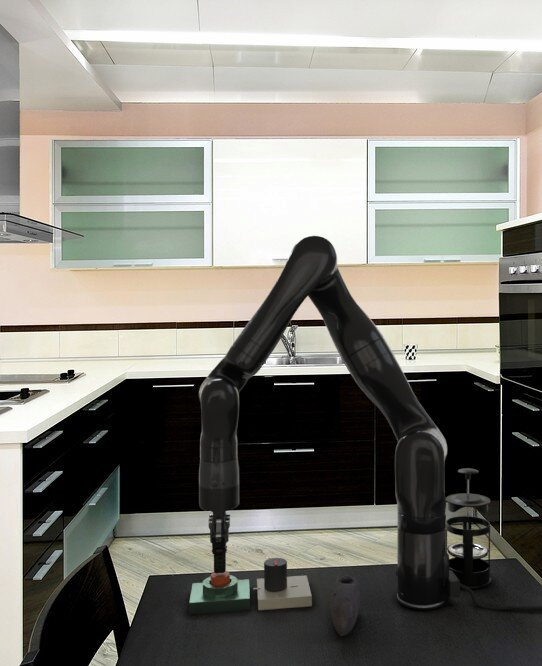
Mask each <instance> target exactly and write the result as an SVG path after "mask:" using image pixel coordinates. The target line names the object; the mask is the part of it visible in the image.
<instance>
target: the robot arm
mask: <svg viewBox="0 0 542 666" xmlns="http://www.w3.org/2000/svg"><path fill="white" fill-rule="evenodd" d="M307 297H308V298H309V300H310V301H311V302H312V304H313V306H314V307H315V308H316V310H317V311H318V313H319V315H320V316H321V318H322V321H323V322H324V325H325V327H326V330H327V331H328V334H329V336H330V338H331V340H332V343H333V345H334V347H335V349H336V351H337V353H338V355H339V356H340V358H341V360H342V361H343V363H344V365H345V367H346V369H347V371H348V372H349V374H350V376H351V377H352V379H353V381H354V382H355V383H356V385H357V386H358V387H359V389H360V390H361V391H362V392H363V393H364V394H365V395H366V397H368V399H369V400H370V401H371V402H372V403H373V404H374V405H375V406H376V407H377V408H378V409H379V411H380V412H381V413H382V414H383V416H384V417H385V419H386V420H387V422H388V425H389V426H390V428H391V430H392V433H393V434H394V436H395V439H396V441H397V445H396V447H395V453H394V484H395V485H394V490H395V492H394V493H395V499H396V506H397V508H396V509H397V510H396V511H397V554H396V555H397V558H396V559H397V561H396V562H397V563H396V564H397V569H396V571H395V577H396V578H397V580H396V581H397V582H396V584H397V585H396V586H397V587H396V592H397V593H396V600H397V602H398V603H399V604H400V605H401V606H403V607H405V608H408V609H412V610H419V611H431V610H435V609H439V608H441V607H443V606H446V605H447V606H448V605H450V599H451V598H452V599H454V598H461V590H464V591H466V592H467V593H469V595H470V597H471V601H472V603H473V604H474V605H475V606H477V607H478V608H481V609H485V610H493V611H542V605H500V606H497V605H496V606H493V605H492V606H491V605H486V604H483V603H482V602H480V601H478V599H477V598H476V594H475V592H474V590H471V589H470V588H468V587H467V586H465V585H463V584H460V581H459V579H458V578H457V577H456V576H455V574H454V573H453V572H452V571H451V570H449V559H450V554H449V553H448V551H447V552H446V520H447V501H446V494H445V493H446V491H445V461H446V458H447V455H448V444H447V440H446V438H445V436H444V435H443V433H442V431H441V430H440V429H439V427H438V426H437V425H436V424H435V423H434V421H433V419H432V418H431V417H430V416H429V414H428V413H427V412H426V410H425V408H424V407H423V406H422V404H421V403H420V401H419V400H418V398H417V396H416V395H415V392H414V391H413V389H412V386H411V385H410V383H409V381H408V378H407V377H406V375H405V372H404V371H403V370H402V367H401V366H400V363H399V361H398V359H397V358H396V356H395V354H394V353H393V351H392V349H391V347H390V345H389V344H388V342H387V340H386V339H385V337H384V335H383V333H382V332H381V331H380V329H379V328H378V326H377V325H376V324H375V322H374V321H373V320H372V319H371V318H370V316H369V315H368V314H367V313H366V311H364V309H362V307H361V306H360V305H359V304H358V303H357V301H356V300H355V299H354V297H353V296H352V294H351V292H350V291H349V288H348V286H347V284H346V283H345V280H344V278H343V276H342V274H341V272H340V269H339V267H338V255H337V251H336V248H335V247H334V245H333V243H332V242H331V241H330V240H329V239H328V238H326V237H324V236H321V235H308V236H305V237H302V238H301V239H300V240H298V241H297V242H296V243H295V244H294V245H293V247H292V249H291V252H290V254H289V256H288V258H287V261H286V262H285V265H284V267H283V269H282V270H281V273H280V275H279V276H278V278H277V280H276V281H275V283H274V284H273V287H272V288H271V290H270V291H269V293H268V295H267V296H266V297H265V299H264V301H262V303H261V304H260V306H259V307H258V309H257V310H256V312H255V313H254V314H253V315H252V317H251V318H250V320H249V321H248V322H247V323H246V325H245V326H244V327H243V329H242V330H241V332H240V333H239V334H238V336H237V337H236V339H235V340H234V341H233V342H232V345H230V347H229V349H228V351H226V354H225V356H224V357H223V358H222V359H221V360H220V361H219V362H218V363H217V365H215V367H214V368H213V369H212V370H211V371H210V373H209V374H208V375H207V376H206V377H205V379H204V380H203V382H202V383H201V385H200V387H199V391H198V399H199V402H200V409H201V433H200V439H199V458H200V459H199V468H198V506H199V508H200V509H201V510H203V511H206V512H208V511H210V512H211V513H212V514H209V516H208V529H209V542H210V544H211V553H212V555H213V572H214V573H224V572H225V571H227V558H226V557H227V552H228V545H227V543H228V542H229V540H230V526H231V513H227V511H229V510H230V511H231V510H235V509H236V508H237V507H239V505H240V464H239V452H238V451H239V448H238V447H239V444H238V443H239V441H238V439H239V438H238V426H239V425H238V424H239V415H240V414H239V413H240V395H239V394H240V393H241V391H242V389H243V388H244V387H245V385H246V384H247V382H248V381H249V379H251V378H252V377H253V376H255V375H257V374H258V372H259V371H260V370H261V368H262V367H263V366H264V364H265V363H266V362H267V360H268V359H269V357H270V356H271V354H272V353H273V352H274V351H275V349H276V347H277V345H278V344H279V342H280V341H281V339H282V337H283V336H284V334H285V332H286V330H287V328H288V326H289V325H290V322H291V321H292V320H293V318H294V316H295V315H296V313H297V311H298V310H299V308H300V307H301V305H302V304H303V303H304V301H306V298H307ZM460 588H462V589H460Z"/></svg>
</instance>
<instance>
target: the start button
mask: <svg viewBox="0 0 542 666" xmlns="http://www.w3.org/2000/svg"><path fill="white" fill-rule="evenodd" d="M230 575H231V573H230V571H227V570H226V571H225V572H224V573H214V571H213V572H212V573H211V574H210V577H211V585H214V586H223V585H227V584H229V583H230Z"/></svg>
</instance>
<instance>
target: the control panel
mask: <svg viewBox="0 0 542 666" xmlns="http://www.w3.org/2000/svg"><path fill="white" fill-rule="evenodd" d="M252 589H253V590H254V591H255V590H256V596H257V610H258V611H267V610H278V609H280V610H281V609H291V608H306V607H313V595H312V591H311V588H310V584H309V580H308V575H305V574H304V575H293V576H291V575H290V576H287V588H286V589H285V590H283V591H279V592H270V591H267V590H265V589H264V577H263V578H261V577H260V578H256V587H253V588H252Z"/></svg>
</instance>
